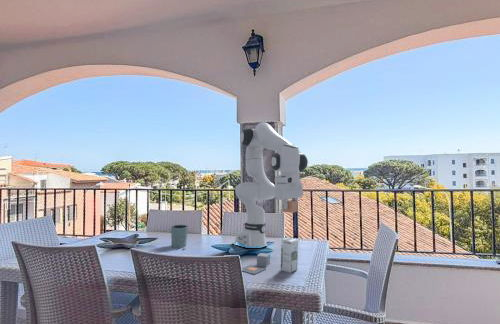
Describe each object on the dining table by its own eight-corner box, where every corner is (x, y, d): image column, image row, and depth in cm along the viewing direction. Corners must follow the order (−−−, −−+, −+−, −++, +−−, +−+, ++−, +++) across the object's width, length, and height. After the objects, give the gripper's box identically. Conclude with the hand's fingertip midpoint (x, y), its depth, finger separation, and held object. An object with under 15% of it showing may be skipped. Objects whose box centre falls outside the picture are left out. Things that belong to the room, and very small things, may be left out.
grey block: (256, 265, 146) (256, 255, 146) (260, 262, 151) (260, 252, 151) (266, 267, 144) (266, 256, 144) (269, 264, 149) (269, 254, 149)
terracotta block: (282, 211, 140) (282, 201, 140) (287, 210, 144) (287, 200, 144) (291, 212, 137) (291, 201, 137) (297, 211, 141) (297, 201, 141)
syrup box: (287, 267, 144) (287, 237, 144) (297, 270, 140) (298, 239, 140) (280, 270, 139) (280, 239, 140) (291, 273, 136) (291, 241, 136)
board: (239, 270, 139) (239, 269, 139) (250, 265, 146) (250, 264, 146) (254, 274, 133) (254, 273, 133) (266, 269, 140) (266, 268, 140)
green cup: (175, 243, 186) (175, 224, 186) (190, 244, 184) (190, 225, 184) (167, 247, 176) (167, 227, 176) (183, 249, 174) (183, 228, 174)
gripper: (294, 178, 151) (294, 205, 151) (272, 178, 135) (272, 209, 134) (306, 178, 147) (305, 206, 147) (284, 179, 131) (284, 211, 130)
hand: (289, 208), depth 140 cm, fingers closed on terracotta block, 5 cm apart
